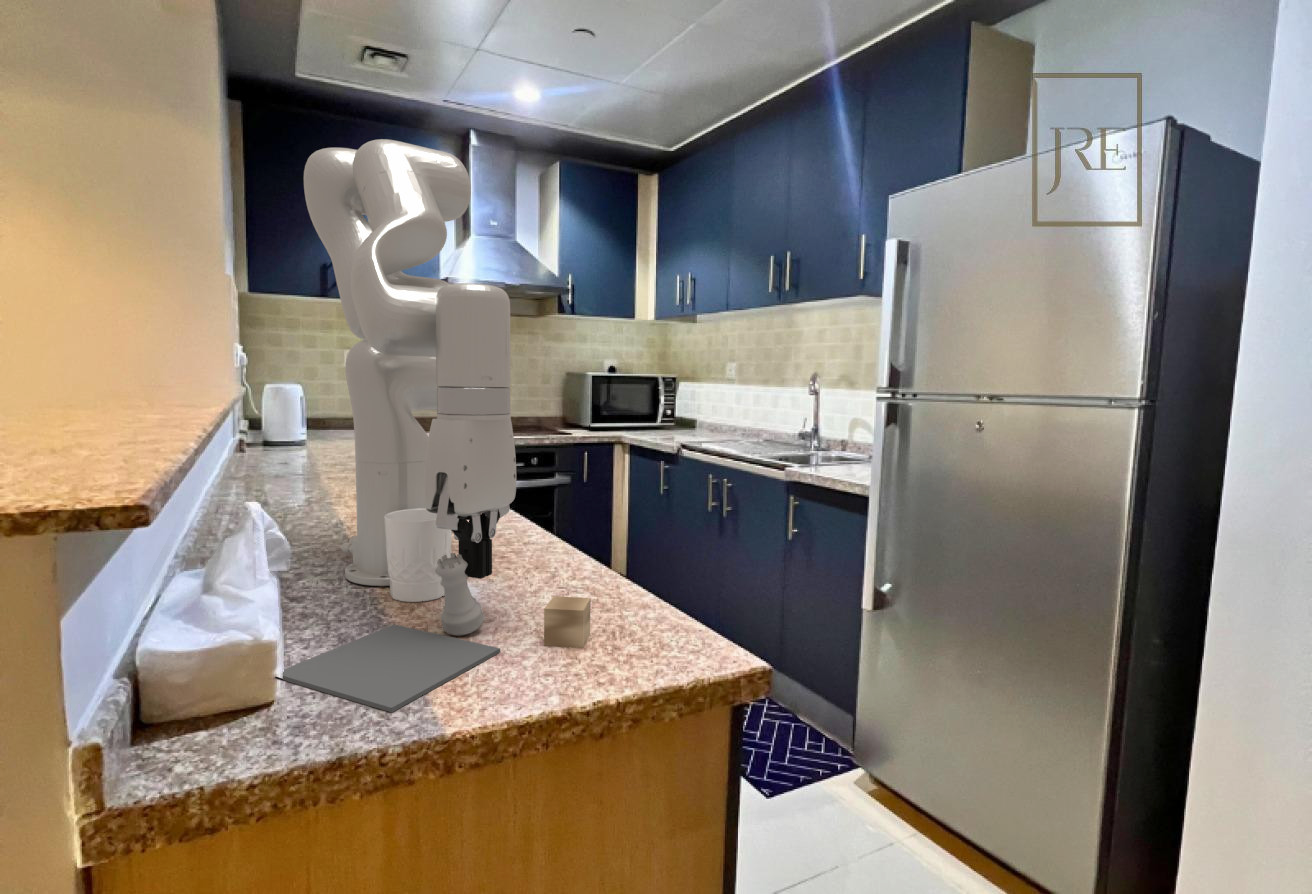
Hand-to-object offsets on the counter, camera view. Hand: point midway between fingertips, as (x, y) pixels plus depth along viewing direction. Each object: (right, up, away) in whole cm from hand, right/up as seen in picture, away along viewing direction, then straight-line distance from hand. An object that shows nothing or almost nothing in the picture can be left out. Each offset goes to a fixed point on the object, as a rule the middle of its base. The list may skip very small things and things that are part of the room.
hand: (475, 575), depth 75 cm
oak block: (+10, -6, -2) cm, 12 cm away
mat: (-5, -7, -10) cm, 13 cm away
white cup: (-10, -5, +11) cm, 16 cm away
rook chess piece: (-1, -5, -1) cm, 6 cm away
